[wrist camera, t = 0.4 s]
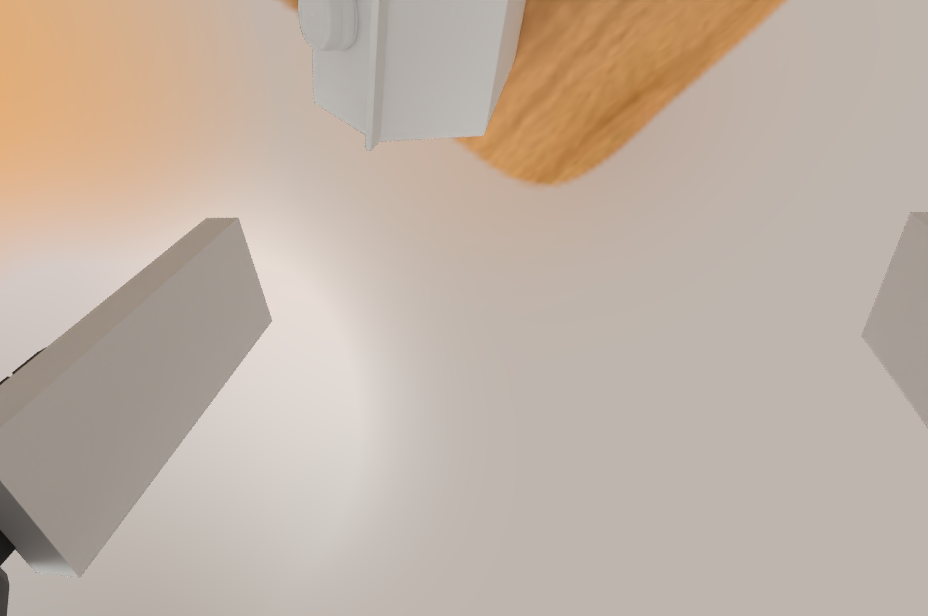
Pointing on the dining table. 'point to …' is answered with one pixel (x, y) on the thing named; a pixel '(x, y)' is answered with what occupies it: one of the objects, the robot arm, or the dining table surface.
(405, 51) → the milk carton
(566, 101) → the dining table surface
